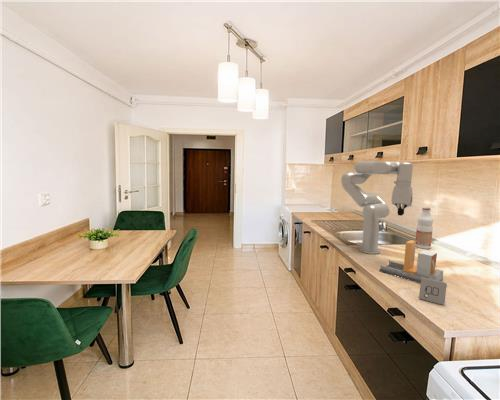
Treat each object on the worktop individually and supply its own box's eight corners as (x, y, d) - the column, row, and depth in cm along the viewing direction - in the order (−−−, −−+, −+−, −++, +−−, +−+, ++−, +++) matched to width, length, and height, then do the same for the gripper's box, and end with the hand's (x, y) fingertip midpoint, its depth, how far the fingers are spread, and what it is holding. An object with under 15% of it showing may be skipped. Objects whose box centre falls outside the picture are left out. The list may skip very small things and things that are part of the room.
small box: (429, 281, 139) (432, 256, 137) (415, 277, 143) (417, 252, 141) (434, 277, 144) (437, 252, 142) (420, 273, 149) (423, 249, 147)
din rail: (379, 271, 154) (380, 262, 153) (390, 265, 163) (391, 256, 162) (434, 287, 134) (435, 277, 134) (443, 279, 144) (444, 270, 143)
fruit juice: (422, 249, 193) (426, 209, 189) (411, 245, 202) (415, 207, 198) (433, 248, 195) (438, 208, 191) (422, 244, 204) (426, 206, 200)
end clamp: (402, 273, 147) (405, 242, 145) (408, 269, 153) (411, 239, 151) (415, 277, 143) (418, 245, 141) (421, 273, 149) (424, 242, 146)
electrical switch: (418, 299, 123) (420, 278, 122) (419, 295, 127) (422, 275, 126) (444, 306, 117) (446, 284, 117) (445, 302, 121) (447, 281, 121)
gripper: (387, 183, 166) (384, 213, 169) (415, 185, 155) (411, 218, 157) (393, 182, 171) (390, 212, 173) (420, 184, 159) (416, 216, 162)
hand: (400, 215), depth 165 cm, fingers closed
